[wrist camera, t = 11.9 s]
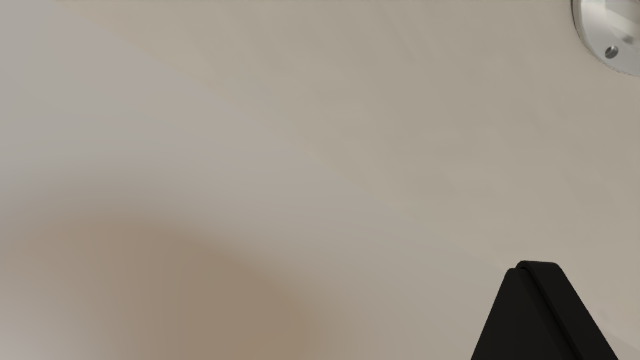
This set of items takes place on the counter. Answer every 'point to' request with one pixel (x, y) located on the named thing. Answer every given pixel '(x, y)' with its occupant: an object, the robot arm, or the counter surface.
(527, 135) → the counter surface
